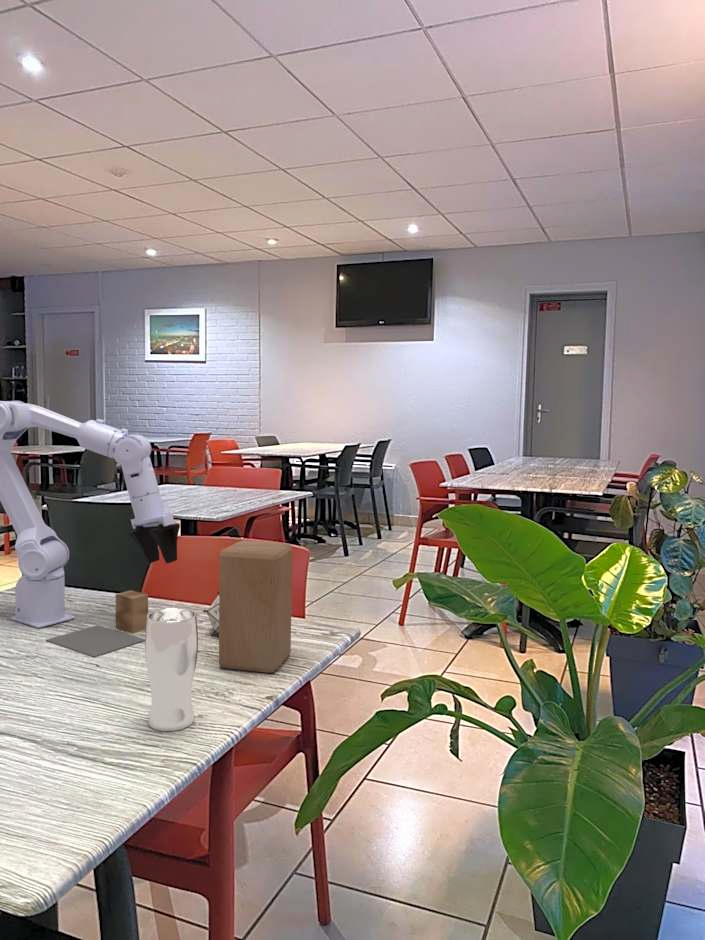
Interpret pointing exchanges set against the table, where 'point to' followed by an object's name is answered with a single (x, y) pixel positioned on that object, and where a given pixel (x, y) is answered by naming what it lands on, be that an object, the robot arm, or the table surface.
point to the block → (255, 605)
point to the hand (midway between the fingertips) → (162, 561)
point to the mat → (96, 640)
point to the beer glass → (171, 666)
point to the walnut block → (131, 612)
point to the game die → (214, 614)
